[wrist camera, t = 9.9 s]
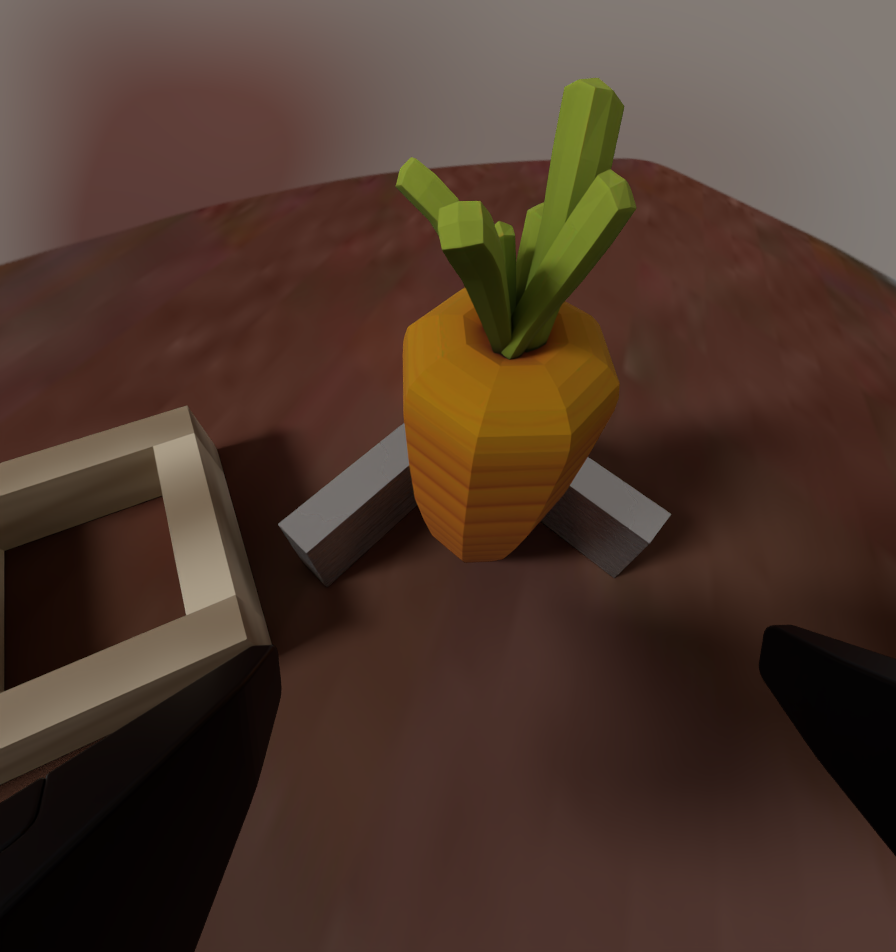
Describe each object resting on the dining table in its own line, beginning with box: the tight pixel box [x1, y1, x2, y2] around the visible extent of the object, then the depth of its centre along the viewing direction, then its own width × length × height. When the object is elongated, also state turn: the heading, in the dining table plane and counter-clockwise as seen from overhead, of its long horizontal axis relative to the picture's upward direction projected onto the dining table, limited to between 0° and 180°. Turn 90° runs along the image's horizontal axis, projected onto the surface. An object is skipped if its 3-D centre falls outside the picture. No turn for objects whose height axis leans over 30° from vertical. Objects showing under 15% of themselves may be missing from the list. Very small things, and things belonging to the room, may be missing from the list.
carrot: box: [396, 78, 636, 563], centre depth 13 cm, size 5×5×15 cm
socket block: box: [0, 406, 272, 785], centre depth 16 cm, size 10×14×3 cm
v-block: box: [278, 423, 671, 587], centre depth 19 cm, size 9×13×4 cm, turn 92°
